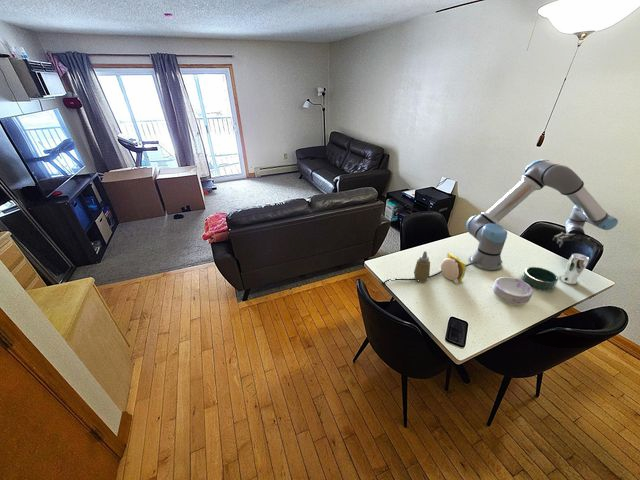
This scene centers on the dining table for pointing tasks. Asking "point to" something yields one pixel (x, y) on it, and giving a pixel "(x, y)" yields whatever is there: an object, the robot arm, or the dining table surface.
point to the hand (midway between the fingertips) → (578, 249)
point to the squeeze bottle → (422, 268)
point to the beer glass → (574, 268)
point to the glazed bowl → (539, 278)
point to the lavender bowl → (512, 290)
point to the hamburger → (453, 268)
